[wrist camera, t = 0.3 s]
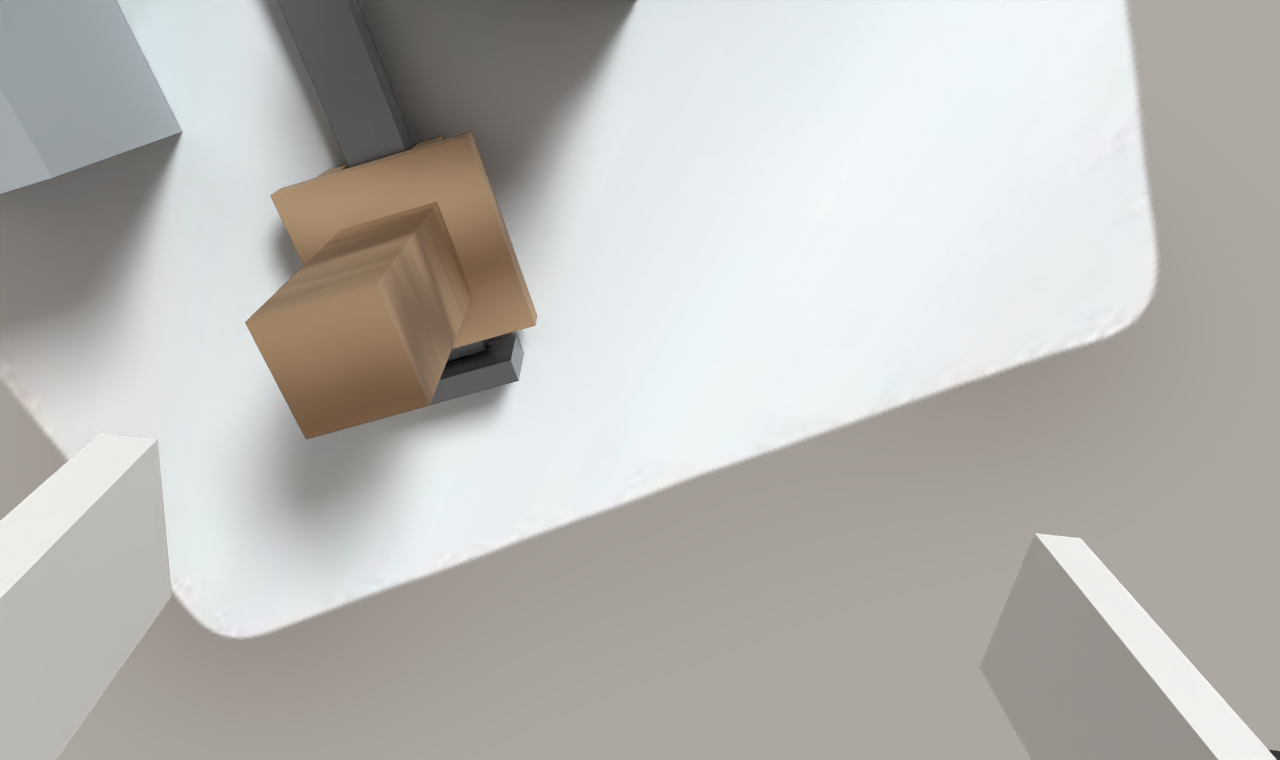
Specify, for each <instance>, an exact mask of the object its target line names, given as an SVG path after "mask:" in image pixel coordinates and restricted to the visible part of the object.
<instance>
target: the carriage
mask: <svg viewBox="0 0 1280 760" xmlns="http://www.w3.org/2000/svg"><path fill="white" fill-rule="evenodd" d="M270 196H271V198H272V200H273V202H274V204H275V206H276V208H277V211H278V213H279V215H280V217H281V219H282V221H283V223H284V225H285V228H286V230H287V232H288V234H289V236H290V238H291V240H292V242H293V244H294V247H295V249H296V251H297V253H298V255H299V257H300V259H301V261H302V263H303V267H302V268H301V269H300V270H299V271H298V272H297V273H296V274H295V275H294V276H293V277H292V278H290V279H289V280H288V281H287V282H286V283H285V284H284V285H283V286H282V287H281V288H280V289H279V290H278V291H277V292H276V293H275V294H274V295H273V296H272V297H271V298H270V299H269V300H268V301H267V302H266V303H265V304H264V305H262V306H261V307H260V308H259V309H258V310H257V311H256V312H255V313H254V314H253V315H252V316H251V317H250V318H249V319H248V320H247V321H246V322H245V323H246V325H247V327H248V329H249V331H250V333H251V335H252V337H253V339H254V341H255V343H256V344H257V346H258V348H259V350H260V352H261V354H262V356H263V358H264V360H265V362H266V364H267V366H268V367H269V369H270V371H271V373H272V375H273V377H274V379H275V381H276V383H277V385H278V387H279V389H280V390H281V392H282V394H283V396H284V398H285V400H286V402H287V404H288V406H289V408H290V410H291V412H292V414H293V415H294V417H295V419H296V421H297V423H298V425H299V427H300V429H301V431H302V433H303V435H304V437H305V438H306V439H310V438H314V437H317V436H321V435H324V434H328V433H332V432H335V431H339V430H342V429H346V428H350V427H353V426H357V425H361V424H364V423H368V422H371V421H375V420H379V419H382V418H386V417H389V416H393V415H397V414H400V413H404V412H408V411H411V410H415V409H418V408H422V407H426V406H429V405H430V403H431V401H432V398H433V396H434V393H435V391H436V388H437V385H438V383H439V380H440V378H441V375H442V373H443V370H444V368H445V365H446V363H447V360H448V358H449V355H450V352H451V350H452V349H454V348H457V347H461V346H464V345H468V344H471V343H475V342H479V341H482V340H486V339H489V338H493V337H496V336H500V335H503V334H507V333H511V332H514V331H518V330H521V329H525V328H528V327H532V326H535V325H536V319H537V314H536V311H535V308H534V305H533V302H532V299H531V297H530V294H529V291H528V288H527V285H526V283H525V280H524V277H523V274H522V271H521V269H520V266H519V263H518V260H517V257H516V255H515V252H514V249H513V246H512V243H511V241H510V238H509V235H508V232H507V229H506V227H505V224H504V221H503V218H502V215H501V213H500V210H499V207H498V204H497V201H496V198H495V196H494V193H493V190H492V187H491V184H490V182H489V179H488V176H487V173H486V170H485V168H484V165H483V162H482V159H481V156H480V154H479V151H478V148H477V145H476V142H475V140H474V137H473V134H472V131H471V132H467V133H464V134H461V135H457V136H454V137H451V138H448V139H444V140H443V137H442V136H439V137H436V138H432V139H429V140H426V141H422V142H419V143H418V144H417V145H416V146H414V147H413V148H412V149H411V150H408V151H404V152H401V153H398V154H394V155H391V156H388V157H384V158H381V159H378V160H374V161H371V162H368V163H364V164H361V165H358V166H354V167H351V168H349V166H348V164H346V165H342V166H339V167H336V168H332V169H329V170H327V171H325V172H324V173H323V174H321V175H320V176H318V177H317V178H314V179H311V180H308V181H304V182H301V183H298V184H294V185H291V186H288V187H284V188H281V189H279V190H278V191H276V192H275V193H273V194H272V195H270Z"/></svg>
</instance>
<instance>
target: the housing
mask: <svg viewBox="0 0 1280 760" xmlns="http://www.w3.org/2000/svg"><path fill="white" fill-rule="evenodd" d="M180 132H182V130H181V128H180V126H179V125H178V123H177V121H176V119H175V117H174V115H173V113H172V111H171V109H170V107H169V105H168V103H167V101H166V99H165V97H164V95H163V93H162V91H161V89H160V87H159V85H158V83H157V81H156V79H155V77H154V75H153V73H152V71H151V69H150V67H149V65H148V63H147V61H146V59H145V57H144V55H143V53H142V51H141V49H140V47H139V45H138V43H137V41H136V39H135V37H134V35H133V33H132V31H131V29H130V27H129V25H128V23H127V21H126V19H125V17H124V15H123V13H122V11H121V9H120V7H119V5H118V3H117V1H116V0H0V194H2V193H5V192H8V191H12V190H15V189H18V188H21V187H25V186H28V185H31V184H34V183H38V182H41V181H44V180H47V179H51V178H54V177H56V176H59V175H62V174H65V173H68V172H71V171H73V170H76V169H79V168H82V167H85V166H87V165H90V164H93V163H96V162H99V161H101V160H104V159H107V158H110V157H113V156H115V155H118V154H121V153H124V152H127V151H129V150H132V149H135V148H138V147H141V146H143V145H146V144H149V143H152V142H155V141H158V140H160V139H163V138H166V137H169V136H172V135H174V134H177V133H180Z"/></svg>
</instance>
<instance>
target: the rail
mask: <svg viewBox="0 0 1280 760" xmlns="http://www.w3.org/2000/svg"><path fill="white" fill-rule="evenodd" d="M278 2H279V5H280V7H281V9H282V12H283V14H284V16H285V19H286V21H287V23H288V26H289V28H290V30H291V33H292V35H293V37H294V40H295V42H296V44H297V47H298V49H299V51H300V54H301V56H302V59H303V61H304V63H305V66H306V68H307V70H308V73H309V75H310V77H311V80H312V82H313V84H314V87H315V89H316V91H317V94H318V96H319V98H320V101H321V103H322V105H323V108H324V110H325V112H326V115H327V117H328V120H329V122H330V124H331V127H332V129H333V131H334V134H335V136H336V138H337V141H338V143H339V145H340V148H341V150H342V152H343V155H344V157H345V159H346V162H347V164H348V166H349V168H351V167H354V166H358V165H361V164H364V163H368V162H371V161H374V160H378V159H381V158H384V157H388V156H391V155H394V154H398V153H401V152H404V151H408V150H411V149H412V148H413V147H414V145H413V142H412V140H411V137H410V135H409V132H408V130H407V127H406V124H405V122H404V119H403V117H402V114H401V112H400V109H399V106H398V104H397V101H396V99H395V96H394V94H393V91H392V88H391V86H390V83H389V81H388V78H387V75H386V73H385V70H384V68H383V65H382V63H381V60H380V57H379V55H378V52H377V50H376V47H375V45H374V42H373V39H372V37H371V34H370V32H369V29H368V27H367V24H366V21H365V19H364V16H363V14H362V11H361V9H360V6H359V3H358V1H357V0H278ZM487 340H488V339H486V340H482V341H479V342H475V343H471V344H468V345H464V346H461V347H457V348H454V349H452V350H451V352H450V355H449V358H448V360H447V363H446V365H445V368H444V370H443V373H442V375H441V378H440V380H439V383H438V385H437V388H436V391H435V393H434V396H433V398H432V401H431V403H430V405H432V404H436V403H439V402H443V401H447V400H450V399H454V398H457V397H461V396H465V395H468V394H472V393H475V392H479V391H483V390H486V389H490V388H494V387H497V386H501V385H504V384H508V383H512V382H515V381H519V376H520V370H521V365H522V360H523V355H524V352H523V349H522V347H521V344H520V341H519V338H518V336H517V334H514V335H510V336H507V337H503V338H500V339H496V340H493V341H489V342H487Z"/></svg>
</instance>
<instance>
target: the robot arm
mask: <svg viewBox="0 0 1280 760" xmlns="http://www.w3.org/2000/svg"><path fill="white" fill-rule="evenodd" d="M171 596H172V592H171V581H170V570H169V559H168V548H167V537H166V527H165V516H164V505H163V494H162V483H161V472H160V461H159V450H158V440H157V439H151V438H141V437H132V436H123V435H114V434H104V433H99V434H98V435H97V436H96V437H95V438H94V439H93V440H91V441H90V442H89V443H88V444H87V445H86V446H85V447H84V448H82V449H81V450H80V451H79V452H78V453H77V454H76V455H74V456H73V457H72V458H71V459H70V460H69V461H68V462H67V463H65V464H64V465H63V466H62V467H61V468H60V469H59V470H58V471H56V473H54V474H53V475H52V476H51V477H50V478H48V479H47V480H46V481H45V482H44V483H43V484H42V485H41V486H39V487H38V488H37V489H36V490H35V491H34V492H33V493H31V494H30V495H29V496H28V497H27V498H26V499H25V500H24V501H23V502H21V503H20V504H19V505H18V506H17V507H16V508H15V509H14V510H12V511H11V512H10V513H9V514H8V515H7V516H5V518H3V519H2V520H1V521H0V760H56V759H57V758H58V756H59V755H60V753H61V752H62V751H63V749H64V748H65V746H66V745H67V743H68V742H69V741H70V739H71V738H72V736H73V735H74V733H75V732H76V731H77V729H78V728H79V726H80V725H81V724H82V722H83V721H84V719H85V718H86V717H87V715H88V714H89V712H90V711H91V709H92V708H93V707H94V705H95V704H96V702H97V701H98V700H99V698H100V697H101V695H102V694H103V693H104V691H105V690H106V688H107V687H108V685H109V684H110V682H111V681H112V680H113V678H114V677H115V676H116V674H117V673H118V671H119V670H120V668H121V667H122V666H123V664H124V663H125V661H126V660H127V658H128V657H129V656H130V654H131V653H132V651H133V650H134V649H135V647H136V646H137V644H138V643H139V642H140V640H141V639H142V637H143V636H144V634H145V633H146V632H147V630H148V628H149V627H150V626H151V625H152V623H153V622H154V620H155V619H156V617H157V616H158V615H159V613H160V612H161V610H162V609H163V608H164V606H165V605H166V603H167V602H168V600H169V599H170V598H171ZM979 668H980V669H981V671H982V673H983V675H984V677H985V678H986V680H987V682H988V684H989V685H990V687H991V689H992V691H993V692H994V694H995V696H996V698H997V700H998V701H999V703H1000V705H1001V706H1002V708H1003V710H1004V712H1005V714H1006V715H1007V717H1008V719H1009V721H1010V722H1011V724H1012V726H1013V728H1014V730H1015V731H1016V733H1017V735H1018V736H1019V738H1020V740H1021V742H1022V744H1023V745H1024V747H1025V749H1026V751H1027V753H1028V754H1029V756H1030V758H1031V760H1280V752H1279V751H1273V750H1268V749H1267V748H1266V747H1265V746H1264V745H1263V743H1262V742H1261V741H1260V740H1259V739H1258V738H1257V737H1256V736H1255V735H1254V733H1253V732H1252V731H1251V730H1250V729H1249V728H1248V727H1247V725H1246V724H1245V723H1244V722H1243V721H1242V720H1241V719H1240V718H1239V717H1238V715H1237V714H1236V713H1235V712H1234V711H1233V710H1232V709H1231V708H1230V706H1229V705H1228V704H1227V703H1226V702H1225V701H1224V700H1223V699H1222V697H1221V696H1220V695H1219V694H1218V693H1217V692H1216V691H1215V689H1214V688H1213V687H1212V686H1211V685H1210V684H1209V683H1208V681H1207V680H1206V679H1205V678H1204V677H1203V676H1202V675H1201V674H1200V673H1199V671H1198V670H1197V669H1196V668H1195V667H1194V666H1193V665H1192V664H1191V662H1190V661H1189V660H1188V659H1187V658H1186V657H1185V656H1184V654H1183V653H1182V652H1181V651H1180V650H1179V649H1178V648H1177V647H1176V645H1175V644H1174V643H1173V642H1172V641H1171V640H1170V639H1169V638H1168V636H1167V635H1166V634H1165V633H1164V632H1163V631H1162V630H1161V628H1159V626H1158V625H1157V624H1156V623H1155V622H1154V621H1153V619H1152V618H1151V617H1150V616H1149V615H1148V614H1147V613H1146V612H1145V610H1144V609H1143V608H1142V607H1141V606H1140V605H1139V604H1138V602H1137V601H1136V600H1135V599H1134V598H1133V597H1132V596H1131V595H1130V593H1128V591H1127V590H1126V589H1125V588H1124V587H1123V586H1122V585H1121V583H1120V582H1119V581H1118V580H1117V579H1116V578H1115V577H1114V576H1113V574H1112V573H1111V572H1110V571H1109V570H1108V569H1107V568H1106V567H1105V565H1104V564H1103V563H1102V562H1101V561H1100V560H1099V559H1098V557H1097V556H1096V555H1095V554H1094V553H1093V552H1092V551H1091V550H1090V548H1089V547H1088V546H1087V545H1086V544H1085V543H1084V542H1083V540H1081V538H1073V537H1063V536H1054V535H1045V534H1036V533H1035V535H1034V537H1033V539H1032V542H1031V544H1030V547H1029V549H1028V552H1027V554H1026V557H1025V559H1024V561H1023V564H1022V566H1021V568H1020V571H1019V573H1018V576H1017V578H1016V581H1015V583H1014V585H1013V588H1012V590H1011V593H1010V595H1009V597H1008V600H1007V602H1006V605H1005V607H1004V609H1003V612H1002V614H1001V617H1000V619H999V622H998V624H997V626H996V629H995V631H994V633H993V636H992V638H991V641H990V643H989V646H988V648H987V650H986V653H985V655H984V658H983V660H982V662H981V665H980V667H979Z"/></svg>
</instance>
